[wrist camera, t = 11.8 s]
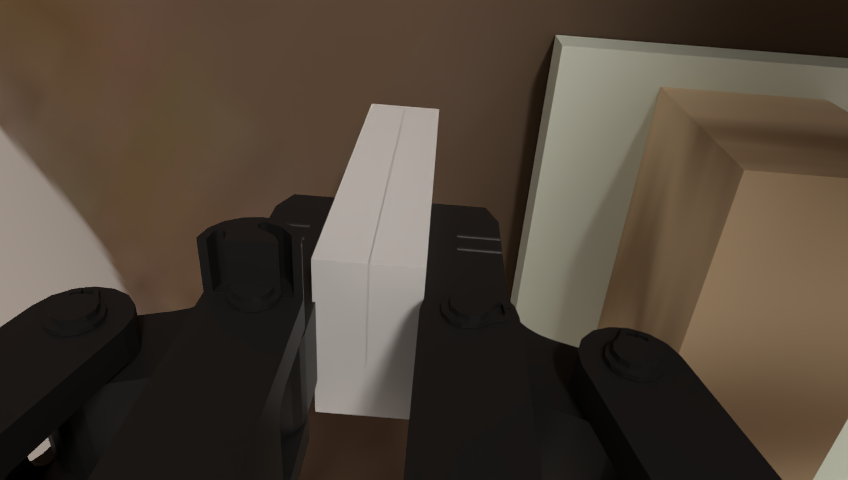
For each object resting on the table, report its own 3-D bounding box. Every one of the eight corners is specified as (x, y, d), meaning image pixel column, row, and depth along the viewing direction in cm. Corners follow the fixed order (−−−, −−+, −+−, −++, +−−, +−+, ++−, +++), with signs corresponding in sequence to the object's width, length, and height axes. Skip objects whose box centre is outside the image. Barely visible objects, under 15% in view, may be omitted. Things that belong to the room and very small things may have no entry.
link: (598, 81, 15) (656, 163, 10) (889, 104, 15) (1068, 196, 10) (501, 542, 24) (511, 687, 20) (682, 557, 24) (731, 707, 19)
